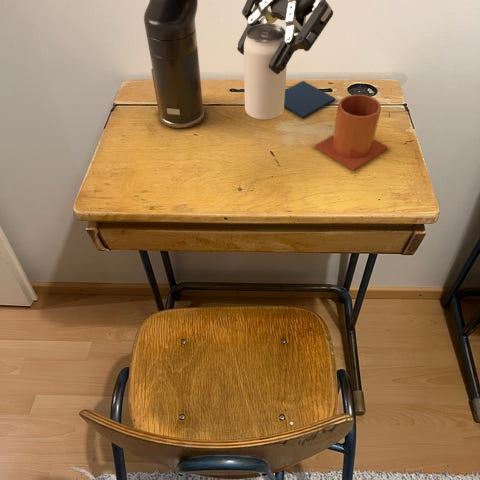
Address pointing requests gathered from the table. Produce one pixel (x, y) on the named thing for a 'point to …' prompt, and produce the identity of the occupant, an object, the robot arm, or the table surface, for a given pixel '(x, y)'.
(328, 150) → the terracotta mat
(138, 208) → the table surface
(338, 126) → the terracotta cup
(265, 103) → the can
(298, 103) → the blue mat
